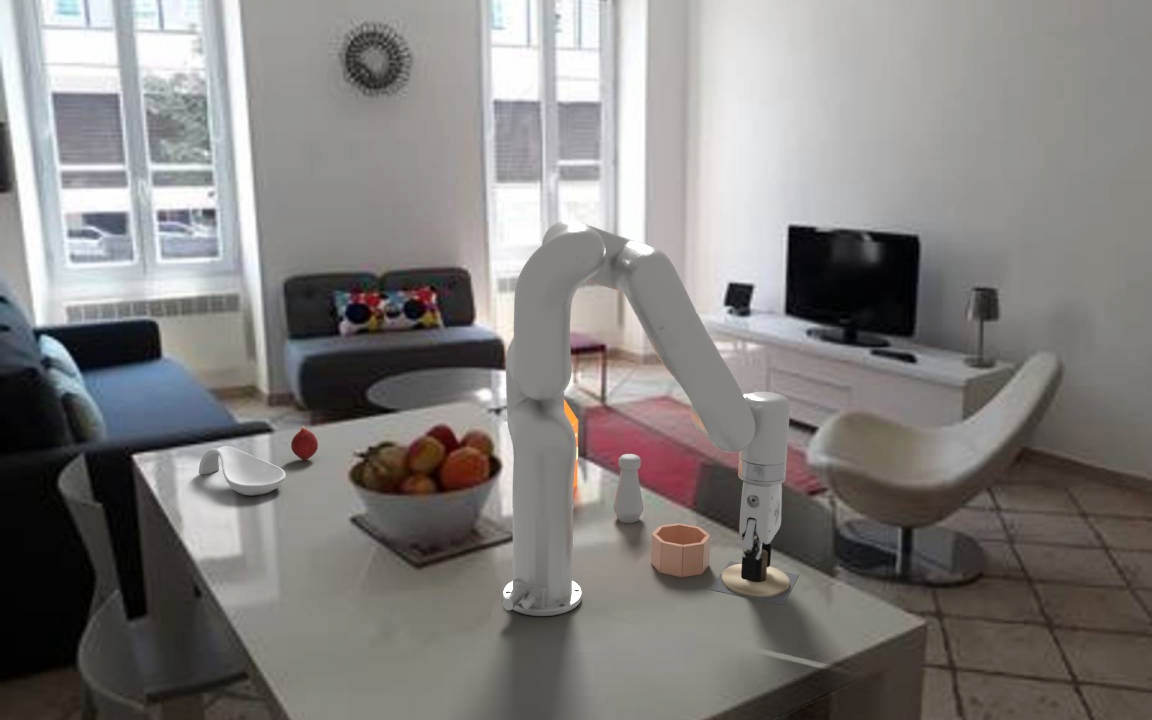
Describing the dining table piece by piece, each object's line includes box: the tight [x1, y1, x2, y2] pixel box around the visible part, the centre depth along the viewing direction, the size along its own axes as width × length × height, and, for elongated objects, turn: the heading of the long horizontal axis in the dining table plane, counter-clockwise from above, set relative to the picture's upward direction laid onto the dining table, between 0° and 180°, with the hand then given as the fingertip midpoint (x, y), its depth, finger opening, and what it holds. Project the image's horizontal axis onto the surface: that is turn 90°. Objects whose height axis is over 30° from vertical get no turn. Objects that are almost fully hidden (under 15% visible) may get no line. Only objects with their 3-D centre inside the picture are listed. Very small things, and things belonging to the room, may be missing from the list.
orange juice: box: [564, 398, 579, 489], centre depth 197 cm, size 8×9×20 cm
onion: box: [290, 425, 319, 461], centre depth 214 cm, size 6×6×8 cm
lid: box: [721, 548, 789, 597], centre depth 156 cm, size 11×11×5 cm
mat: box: [709, 560, 800, 606], centre depth 156 cm, size 12×12×1 cm
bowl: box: [650, 522, 711, 578], centre depth 162 cm, size 9×9×6 cm
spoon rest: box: [198, 445, 287, 496], centre depth 199 cm, size 24×12×7 cm, turn 54°
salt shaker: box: [613, 453, 645, 524], centre depth 182 cm, size 6×6×13 cm
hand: (755, 571), depth 156 cm, fingers open, 5 cm apart
